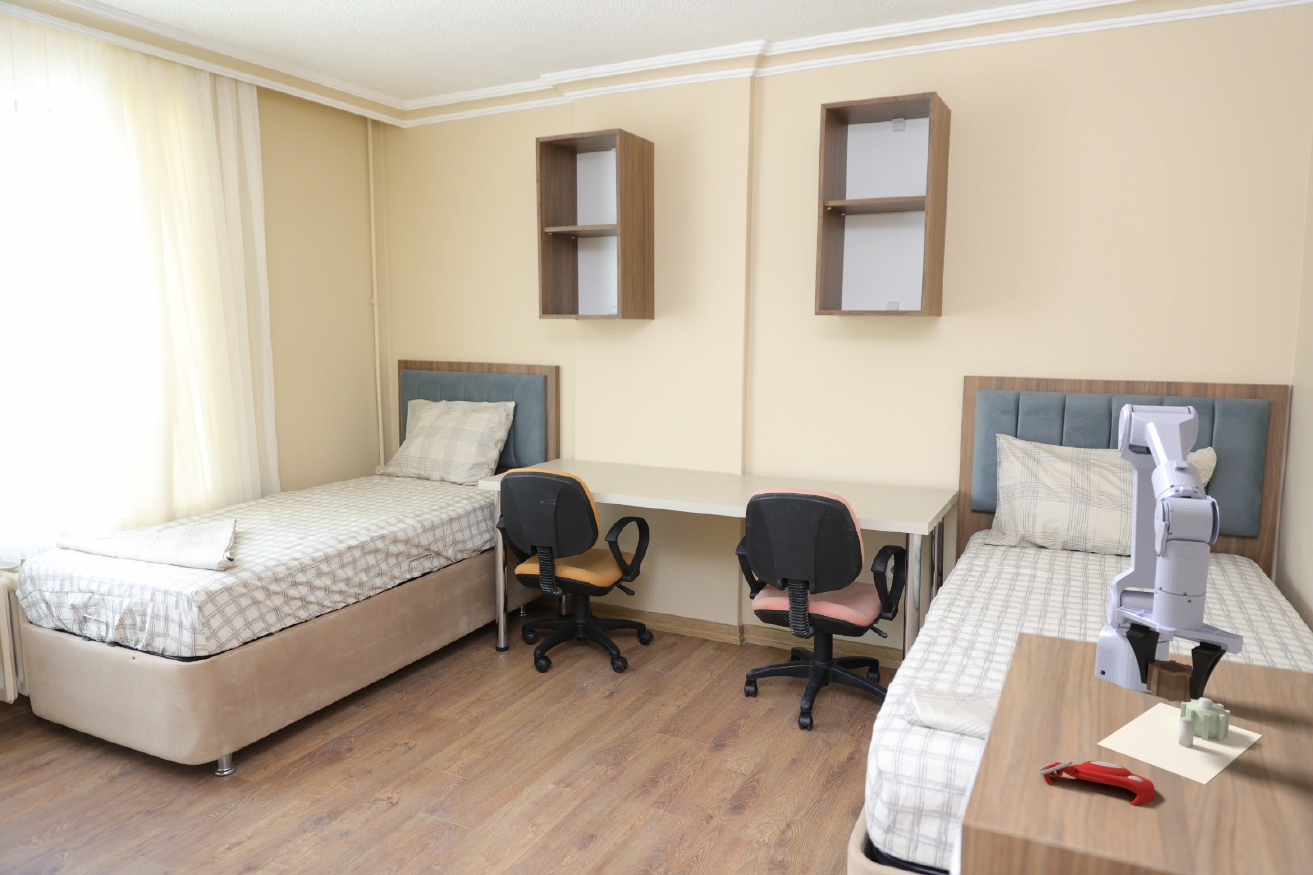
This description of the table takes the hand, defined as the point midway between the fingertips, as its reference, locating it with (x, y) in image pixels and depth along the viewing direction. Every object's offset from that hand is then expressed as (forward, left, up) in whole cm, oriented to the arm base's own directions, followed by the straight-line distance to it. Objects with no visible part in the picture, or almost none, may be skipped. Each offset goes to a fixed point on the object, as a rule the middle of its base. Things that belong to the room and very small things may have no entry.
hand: (1171, 689), depth 115 cm
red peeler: (-2, -16, -9) cm, 19 cm away
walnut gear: (0, 0, -1) cm, 0 cm away
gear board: (+1, +3, -9) cm, 9 cm away
